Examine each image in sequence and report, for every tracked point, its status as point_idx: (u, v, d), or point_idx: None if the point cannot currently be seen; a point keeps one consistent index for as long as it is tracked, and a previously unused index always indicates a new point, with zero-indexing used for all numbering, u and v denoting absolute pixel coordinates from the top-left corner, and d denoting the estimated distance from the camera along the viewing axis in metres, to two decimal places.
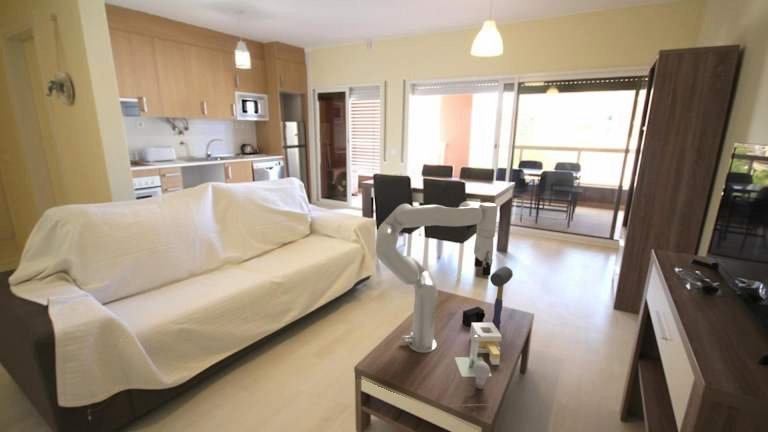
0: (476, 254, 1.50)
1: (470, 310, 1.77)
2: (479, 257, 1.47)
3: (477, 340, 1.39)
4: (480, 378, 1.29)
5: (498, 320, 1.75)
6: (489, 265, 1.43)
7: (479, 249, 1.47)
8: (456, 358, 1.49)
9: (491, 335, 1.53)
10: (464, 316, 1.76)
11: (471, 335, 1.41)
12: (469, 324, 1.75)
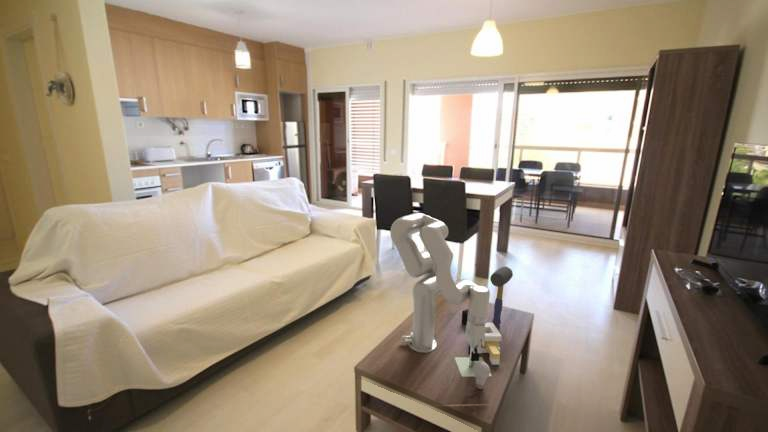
0: (467, 338, 1.42)
1: None
2: (470, 343, 1.39)
3: None
4: (480, 378, 1.29)
5: (498, 320, 1.75)
6: None
7: (470, 335, 1.39)
8: (456, 358, 1.49)
9: (491, 335, 1.53)
10: (463, 316, 1.76)
11: None
12: None
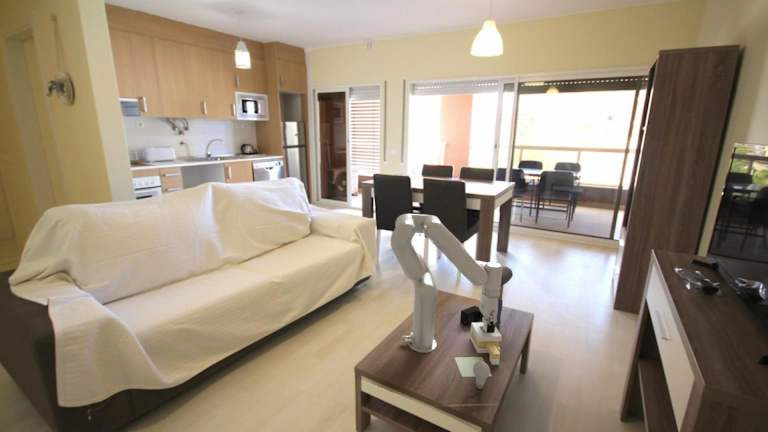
0: (481, 310, 1.55)
1: (468, 309, 1.78)
2: (484, 315, 1.52)
3: None
4: (480, 378, 1.29)
5: (498, 320, 1.75)
6: (493, 324, 1.49)
7: (484, 307, 1.52)
8: (456, 358, 1.49)
9: (491, 335, 1.53)
10: (462, 316, 1.76)
11: (483, 318, 1.56)
12: (467, 323, 1.75)
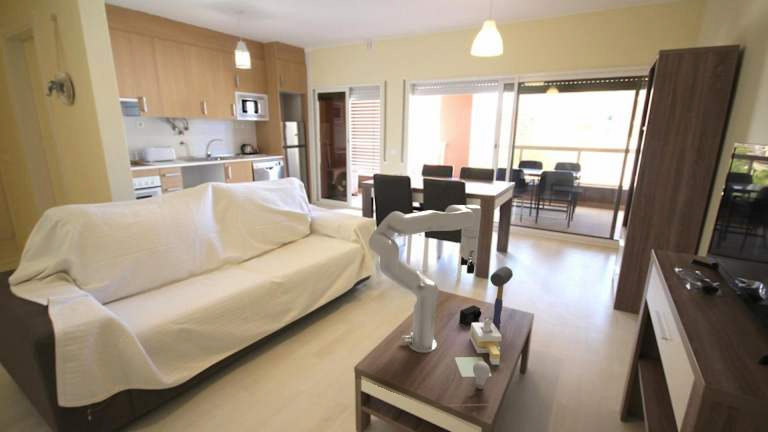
0: (461, 253, 1.59)
1: (467, 309, 1.78)
2: (464, 256, 1.55)
3: (489, 322, 1.53)
4: (480, 378, 1.29)
5: (498, 320, 1.75)
6: (473, 264, 1.52)
7: (464, 248, 1.56)
8: (456, 358, 1.49)
9: (491, 335, 1.53)
10: (461, 315, 1.76)
11: (483, 318, 1.56)
12: (467, 323, 1.75)
